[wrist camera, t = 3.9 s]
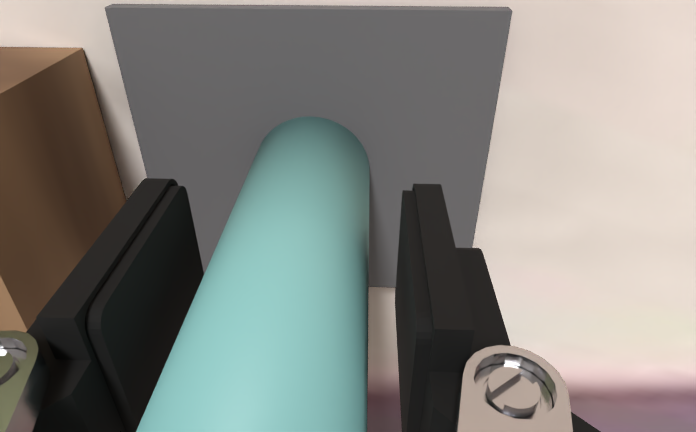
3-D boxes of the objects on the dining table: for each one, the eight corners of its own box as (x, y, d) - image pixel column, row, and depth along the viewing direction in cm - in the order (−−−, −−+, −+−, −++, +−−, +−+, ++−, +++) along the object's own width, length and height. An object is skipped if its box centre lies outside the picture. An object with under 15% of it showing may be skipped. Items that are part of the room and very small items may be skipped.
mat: (508, 7, 11) (512, 10, 11) (462, 280, 16) (464, 289, 15) (112, 4, 12) (104, 7, 11) (177, 273, 16) (173, 281, 16)
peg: (371, 116, 12) (368, 600, 4) (368, 218, 14) (362, 709, 6) (250, 115, 12) (1, 581, 4) (261, 216, 14) (100, 695, 6)
